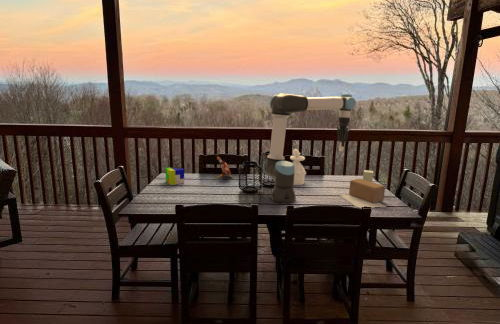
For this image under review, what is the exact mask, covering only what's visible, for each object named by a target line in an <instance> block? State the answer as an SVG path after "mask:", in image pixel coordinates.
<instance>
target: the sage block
mask: <svg viewBox="0 0 500 324" xmlns="http://www.w3.org/2000/svg"><path fill="white" fill-rule="evenodd" d="M373 177H374V170H368V169H364V170H363V175H362V179H363V180H366V181H370V182H373Z"/></svg>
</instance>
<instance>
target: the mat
mask: <svg viewBox="0 0 500 324" xmlns="http://www.w3.org/2000/svg"><path fill="white" fill-rule="evenodd" d="M339 197H341V198H342V199H343V200H345V201H347V202H348V203H350V204H351V205H352V206H354V207H355V208H357V207H360V208H361V207H364V206H367V207H371V208H370V209H376V208H375V207H381V208H387V206H386V205H385V204H382V202H376V203H372V202H369V201H366V200H364V199H361V198H358V197H355V196H352V195H350V194H346V195H344V194H342V195H341V194H340V195H339Z"/></svg>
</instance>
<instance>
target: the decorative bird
mask: <svg viewBox="0 0 500 324" xmlns="http://www.w3.org/2000/svg"><path fill="white" fill-rule="evenodd" d="M216 159H217V160H218V162H219V163H220V168H221V171H222V173H221V174H220V175H217V178H221V177H224V176H225V175H228V176H229V178H232V177H233V178H234V176H233V175H232V172H231V170H230V167H229V165H228V164H227V162H226V161H224V160H222V159H221V157H220V156H218V155H216ZM233 178H232V179H233Z"/></svg>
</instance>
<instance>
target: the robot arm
mask: <svg viewBox="0 0 500 324" xmlns="http://www.w3.org/2000/svg"><path fill="white" fill-rule="evenodd" d="M356 104H357V101H356V99H355V97H353V95H352V94H350V93H348V94H347V93H342V94H340V96H335V95H328V96H322V97H321V96H315V97H312V96H311V97H308V96H306V95H299V94H293V93H284V92H279V93H276V94H274V95H273V96H272V97H271V98H270V101H269V107H270V109H271V116H272V117H273V120H272V129H271V137H270V138H271V139H270V147H269V148H270V149H269V154H267V156H266V160H264V162H263V165H262V169H263V171H264V173H265V175H267V176H268V177H270V178H272V179H274V188H273V191H272V193H271V198H272V199H273V200H274V201H273V200H272V199H271V200H272V201H273V202H275V201H277V202H276V203H278V202H282V203H281V204H292V203H295V201H297V199H296V197H297V196H296V192H295V189H294V186H295V185H294V172H295V167H294V164H293V163H292V162H291V161H287V160H285V159H286V158H285V157H284V148H285V141H286V140H285V139H286V132H287V131H286V130H287V122H288V118H290V117H291V114H294V113H305V112H306V111H317V110H320V111H321V110H322V111H323V110H339V113H338V120H337V121H338V123H339V125H338V126H337V127H336V130H337V141H339V142H338V143H339V145H338V151H339V152H344V151H345V150H344V149H345V143H346V142H347V141H348V138H349V134H350V130H351V127H349V124H351V123H350V122H351V118H350V117H351V115H352V114H351V111H352V109H354V108H355V107H356ZM291 202H292V203H291Z"/></svg>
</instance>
